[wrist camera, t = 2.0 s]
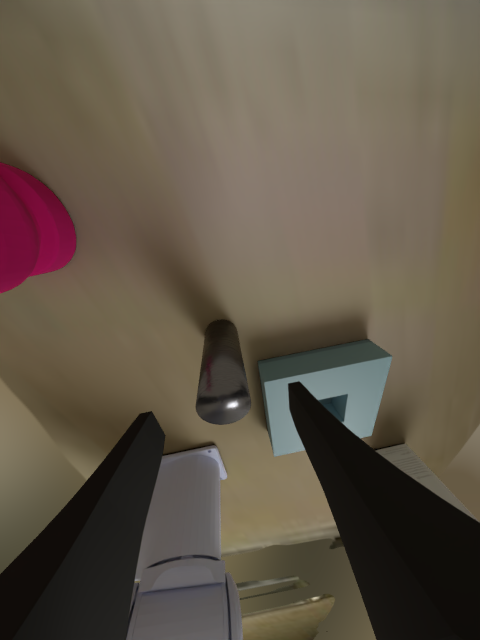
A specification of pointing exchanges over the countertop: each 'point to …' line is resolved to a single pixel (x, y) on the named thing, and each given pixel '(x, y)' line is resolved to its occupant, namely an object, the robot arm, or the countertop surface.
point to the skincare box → (420, 473)
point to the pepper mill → (31, 229)
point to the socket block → (325, 388)
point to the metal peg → (222, 376)
